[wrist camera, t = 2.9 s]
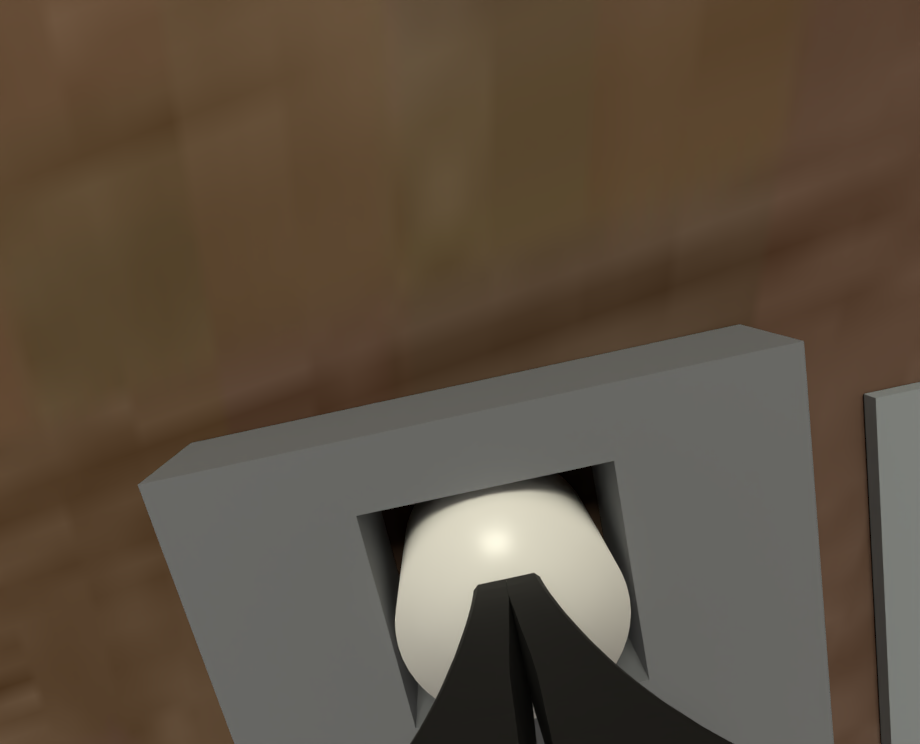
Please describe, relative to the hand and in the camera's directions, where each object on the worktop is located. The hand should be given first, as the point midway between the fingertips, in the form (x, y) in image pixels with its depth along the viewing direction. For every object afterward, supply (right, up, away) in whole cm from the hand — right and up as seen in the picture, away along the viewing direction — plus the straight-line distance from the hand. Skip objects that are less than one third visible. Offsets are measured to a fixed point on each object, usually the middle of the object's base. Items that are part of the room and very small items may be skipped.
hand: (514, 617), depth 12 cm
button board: (+2, -7, +5) cm, 9 cm away
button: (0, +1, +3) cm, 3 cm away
